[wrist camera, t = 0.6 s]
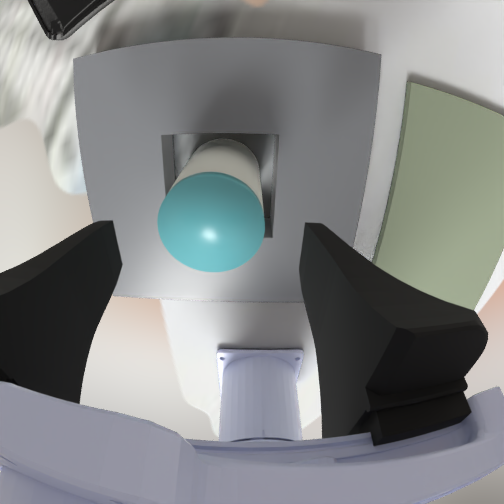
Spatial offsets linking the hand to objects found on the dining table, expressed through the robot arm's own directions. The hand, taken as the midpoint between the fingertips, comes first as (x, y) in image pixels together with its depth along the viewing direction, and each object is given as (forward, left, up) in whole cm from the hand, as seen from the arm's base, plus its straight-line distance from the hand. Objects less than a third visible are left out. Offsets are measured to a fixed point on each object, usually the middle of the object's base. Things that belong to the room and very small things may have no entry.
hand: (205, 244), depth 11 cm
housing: (0, 0, -8) cm, 8 cm away
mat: (-3, -18, -8) cm, 20 cm away
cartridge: (0, 0, -8) cm, 8 cm away
